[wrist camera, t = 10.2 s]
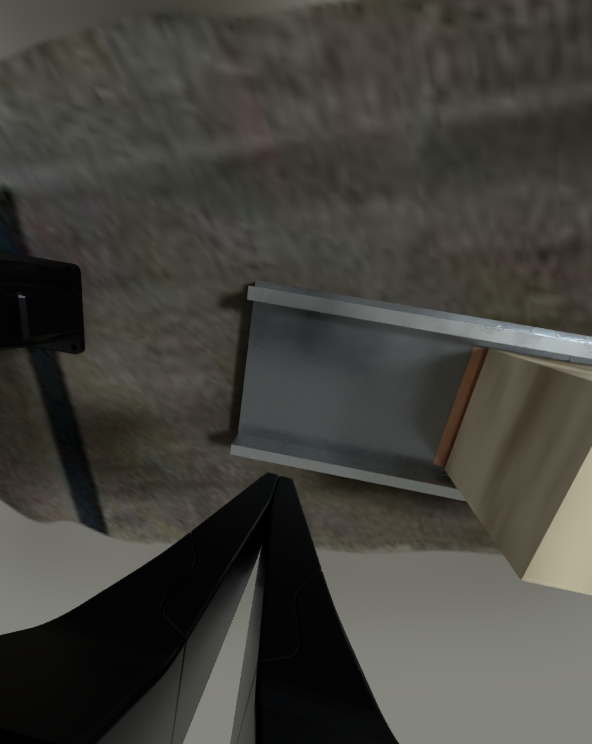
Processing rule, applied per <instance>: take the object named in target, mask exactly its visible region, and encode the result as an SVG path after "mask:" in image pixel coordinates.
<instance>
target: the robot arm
mask: <svg viewBox="0 0 592 744" xmlns="http://www.w3.org/2000/svg"><path fill="white" fill-rule="evenodd" d="M71 269H72V271H73V272H72V273H71ZM28 346H35V347H41V348H46V349H51V350H57V351H62V352H67V353H73V354H78V353H82V352H84V350H85V340H84V322H83V304H82V286H81V271H80V269H79V267H78V266H77V265H75V264H72V263H66V262H60V261H54V260H48V259H42V258H37V257H31V256H25V255H19V254H13V253H7V252H2V251H0V351H5V350H11V349H17V348H23V347H28ZM76 346H77V348H76ZM261 546H262V547H261ZM260 549H261V552H260ZM259 552H260V557H259V563H258V570H257V576H256V583H255V589H254V596H253V602H252V608H251V614H250V621H249V628H248V634H247V640H246V647H245V653H244V659H243V666H242V673H241V679H240V685H239V691H238V698H237V704H236V711H235V717H234V723H233V730H232V736H231V743H230V744H399V743H398V741H397V740H396V738H395V737H394V735H393V733H392V732H391V730H390V728H389V727H388V725H387V723H386V721H385V719H384V717H383V715H382V714H381V711H380V709H379V707H378V705H377V703H376V700H375V698H374V696H373V694H372V692H371V689H370V687H369V685H368V682H367V680H366V678H365V676H364V673H363V671H362V669H361V667H360V664H359V662H358V660H357V658H356V655H355V653H354V651H353V649H352V647H351V644H350V642H349V640H348V638H347V635H346V633H345V631H344V628H343V626H342V623H341V621H340V619H339V617H338V614H337V612H336V609H335V607H334V604H333V601H332V598H331V595H330V593H329V590H328V587H327V584H326V581H325V578H324V575H323V572H322V571H321V566H320V563H319V560H318V557H317V554H316V550H315V547H314V544H313V541H312V538H311V535H310V532H309V528H308V525H307V522H306V519H305V516H304V513H303V510H302V507H301V504H300V501H299V497H298V494H297V491H296V488H295V485H294V482H293V480H292V479H291V478H288V477H284V476H280V478H279V475H277V474H273V473H269V472H267V473H266V474H264V475H263V476H262V477H260V478H259V479H258V480H257V481H255V482H254V483H253V484H251V485H250V486H249V487H248V488H246V489H245V490H244V491H242V492H241V493H240V494H239V495H237V496H236V497H235V498H233V499H232V500H231V501H230V502H228V503H227V504H226V505H224V506H223V507H222V508H221V509H219V510H218V511H217V512H215V513H214V514H213V515H211V516H210V517H209V518H208V519H206V520H205V521H204V522H202V523H201V524H200V525H199V526H197V527H196V528H195V529H193V530H192V531H191V533H188V534H187V535H185V536H184V537H183V538H182V539H180V540H179V541H178V542H176V543H175V544H174V545H172V546H171V547H170V548H168V549H167V550H165V551H164V552H163V553H161V554H160V555H158V556H157V557H155V558H154V559H152V560H151V561H149V562H148V563H146V564H145V565H143V566H142V567H140V568H139V569H137V570H136V571H134V572H132V573H131V574H129V575H128V576H126V577H124V578H123V579H121V580H120V581H118V582H116V583H115V584H113V585H112V586H110V587H108V588H107V589H105V590H104V591H102V592H101V593H99V594H97V595H96V596H94V597H92V598H91V599H89V600H88V601H86V602H84V603H83V604H81V605H80V606H78V607H76V608H75V609H73V610H71V611H70V612H68V613H66V614H64V615H62V616H60V617H58V618H56V619H54V620H52V621H49V622H47V623H44V624H42V625H39V626H36V627H33V628H29V629H25V630H20V631H16V632H12V633H8V634H3V635H0V744H183V741H184V739H185V736H186V734H187V732H188V729H189V727H190V724H191V722H192V719H193V717H194V714H195V712H196V709H197V707H198V704H199V702H200V699H201V697H202V694H203V692H204V689H205V687H206V684H207V682H208V679H209V677H210V674H211V672H212V669H213V667H214V665H215V662H216V660H217V657H218V655H219V652H220V650H221V647H222V645H223V642H224V640H225V637H226V635H227V632H228V630H229V627H230V625H231V622H232V620H233V617H234V615H235V612H236V610H237V607H238V605H239V603H240V600H241V598H242V595H243V593H244V590H245V587H246V585H247V583H248V580H249V578H250V575H251V573H252V570H253V568H254V565H255V563H256V560H257V558H258V555H259Z"/></svg>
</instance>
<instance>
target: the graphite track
mask: <svg viewBox="0 0 592 744" xmlns="http://www.w3.org/2000/svg"><path fill="white" fill-rule="evenodd" d="M247 300H253V308H252V317H251V325H250V334H249V343H248V352H247V360H246V369H245V378H244V386H243V395H242V404H241V413H240V421H239V430H238V434H237V436H236V438H235V439H234V441H233V443H232V444H231V452H230V454H232V455H237V456H242V457H247V458H252V459H257V460H262V461H267V462H272V463H277V464H282V465H287V466H292V467H297V468H302V469H307V470H312V471H317V472H322V473H327V474H332V475H337V476H342V477H347V478H352V479H357V480H362V481H367V482H372V483H377V484H382V485H387V486H392V487H397V488H402V489H407V490H412V491H417V492H422V493H427V494H432V495H437V496H442V497H447V498H452V499H457V500H462V501H466V500H465V499H464V497H463V496H462V494H461V493H460V491H459V490H458V489H457V487H456V486H455V484H454V483H453V481H452V480H451V478H450V477H449V476H448V474H447V473H446V471H445V467H446V465H447V462H448V459H449V456H450V454H451V451H452V448H453V446H454V443H455V440H456V437H457V435H458V432H459V429H460V426H461V424H462V421H463V418H464V416H465V413H466V410H467V407H468V405H469V402H470V399H471V396H472V394H473V391H474V388H475V386H476V383H477V380H478V377H479V375H480V372H481V369H482V367H483V364H484V361H485V358H486V356H487V353H488V350H489V348H491V349H496V350H502V351H508V352H514V353H520V354H525V355H531V356H537V357H543V358H548V359H554V360H560V361H566V362H571V363H577V364H583V365H589V366H592V337H590V336H584V335H578V334H572V333H566V332H560V331H554V330H548V329H542V328H536V327H530V326H524V325H519V324H513V323H507V322H501V321H495V320H489V319H483V318H477V317H471V316H465V315H459V314H453V313H447V312H441V311H436V310H430V309H424V308H418V307H412V306H406V305H400V304H394V303H388V302H382V301H376V300H370V299H364V298H358V297H353V296H347V295H341V294H335V293H329V292H323V291H317V290H311V289H305V288H299V287H293V286H287V285H281V284H276V283H270V282H264V281H258V280H256V282H255V286H249V287H248V296H247Z"/></svg>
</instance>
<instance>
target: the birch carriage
mask: <svg viewBox="0 0 592 744" xmlns="http://www.w3.org/2000/svg"><path fill="white" fill-rule="evenodd" d="M445 471H446V473H447V474H448V476H449V477H450V478H451V480H452V481H453V483H454V484H455V486H456V487H457V489H458V490H459V491H460V493H461V494H462V496H463V497H464V499H465V500H466V502H467V503H468V504H469V506H470V507H471V509H472V510H473V512H474V513H475V515H476V516H477V517H478V519H479V520H480V522H481V523H482V525H483V526H484V527H485V529H486V530H487V532H488V533H489V535H490V536H491V538H492V539H493V540H494V542H495V543H496V545H497V546H498V548H499V549H500V551H501V552H502V553H503V555H504V556H505V558H506V559H507V560H508V562H509V563H510V565H511V566H512V568H513V569H514V571H515V572H516V574H517V575H518V577H519V578H520V579H521V580H522V581H527V582H532V583H537V584H541V585H546V586H550V587H556V588H560V589H565V590H569V591H574V592H579V593H584V594H588V595H592V366H589V365H583V364H577V363H571V362H566V361H560V360H554V359H548V358H543V357H537V356H531V355H525V354H520V353H514V352H508V351H502V350H496V349H491V348H489V350H488V353H487V356H486V358H485V361H484V364H483V367H482V369H481V372H480V375H479V377H478V380H477V383H476V386H475V388H474V391H473V394H472V396H471V399H470V402H469V405H468V407H467V410H466V413H465V416H464V418H463V421H462V424H461V426H460V429H459V432H458V435H457V437H456V440H455V443H454V446H453V448H452V451H451V454H450V456H449V459H448V462H447V465H446V467H445Z"/></svg>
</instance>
